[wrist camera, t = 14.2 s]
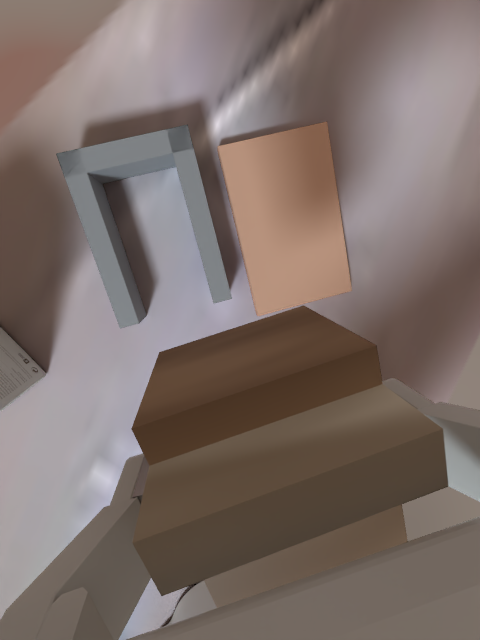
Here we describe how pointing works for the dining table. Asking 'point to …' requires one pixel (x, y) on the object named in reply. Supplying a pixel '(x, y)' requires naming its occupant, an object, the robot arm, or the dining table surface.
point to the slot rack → (98, 222)
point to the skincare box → (15, 371)
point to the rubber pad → (287, 216)
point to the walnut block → (275, 457)
